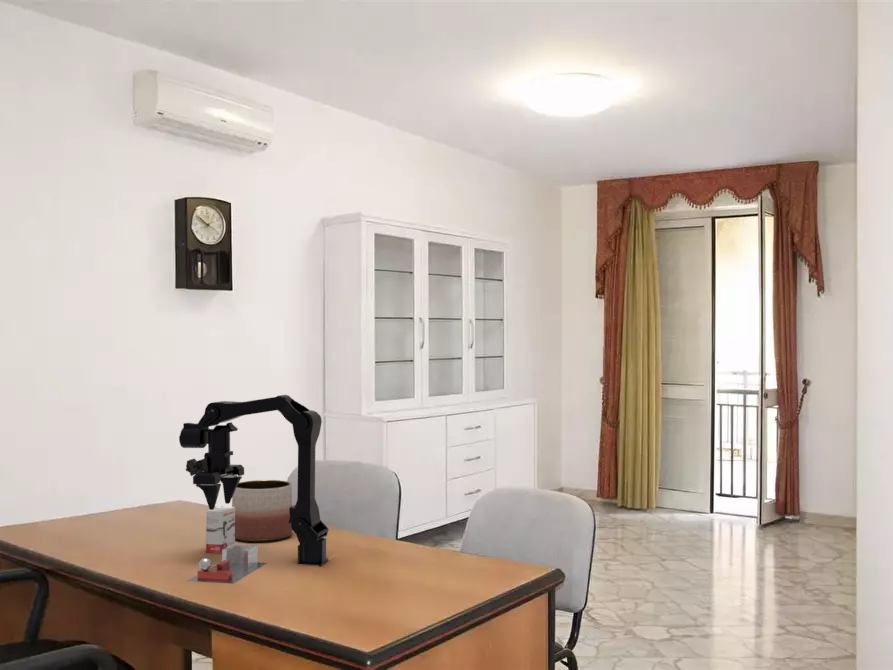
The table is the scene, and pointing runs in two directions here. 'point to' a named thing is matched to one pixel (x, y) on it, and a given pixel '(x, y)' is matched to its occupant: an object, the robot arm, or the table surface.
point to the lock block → (241, 555)
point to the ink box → (220, 528)
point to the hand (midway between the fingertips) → (219, 506)
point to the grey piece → (222, 572)
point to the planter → (262, 510)
